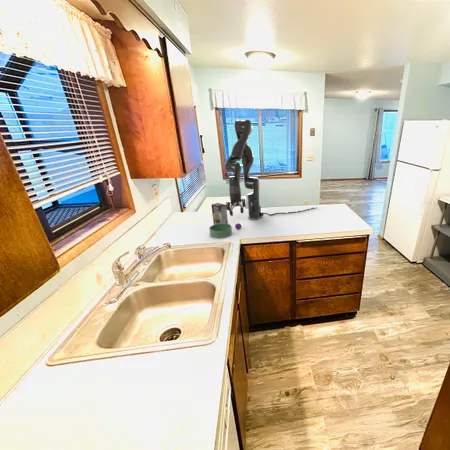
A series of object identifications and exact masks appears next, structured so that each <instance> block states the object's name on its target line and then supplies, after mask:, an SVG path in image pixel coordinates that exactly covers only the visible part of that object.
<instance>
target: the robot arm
mask: <svg viewBox="0 0 450 450" xmlns="http://www.w3.org/2000/svg"><path fill="white" fill-rule="evenodd" d="M252 130H253V123H252V120H250V119H244V118H243V119H242V118H241V119H235V121H234V131H235V134H236V139H237V141H236V142H235V143H234V144H233V146H232V149H231V153H230V156H229V157H228V159H227V160H226V162H225V164H224V169H225V172H227V173H228V174H233V175H232V176H229V177H228V191H229V200H230V201H226V202H225V205H226V208H227V211H229V215H230V216H231V217H233V216H234V212H233V210H234V209H235V208H237V207H240V208H239V209H240V214H244V212H245V211H244V208H246V206H247V209H248V211H247V214H248V219H249V220H260V219H261V218H262V217H264V215H267V216H275V215H280V214H281V215H282V214H283V215H284V214H285V215H286V213H285V212H274V213H271V214H270V213H268V212H264V211H262V209H261V208H262V207H261V205H260V179H259V178H258V177H251V176H250V171H251V169H252V167H253V165H254V161H255V158H254V152H253V150H252V148H251V146H250V145H249V144H248V140H249V138H250V136H251V134H252ZM240 161H241V163H240ZM242 172H243V184H244V187H245V189H246V190H253V191H252V192H249V193H247V197H246V198H247V205H246V199H245V198H242V189H241V181H240V179H241V173H242ZM313 209H315V208H314V207H311V209H310V208H307V209H302V210H303V211H302V210H298V211H297V210H296V211H297V212H296V211H287V212H288V213H287V214H295V213H303V212H306V211H310V210H313Z"/></svg>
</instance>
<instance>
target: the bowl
mask: <svg viewBox="0 0 450 450" xmlns="http://www.w3.org/2000/svg"><path fill="white" fill-rule="evenodd" d="M208 229H209V230H208V231H209V236H210V237H211V238H214V239H224V238H227V237H230V236H231V235H232V234H233V229H232V225H231V224H229V223H228V224H215V225H214V224H213V225H210V226H209V228H208Z"/></svg>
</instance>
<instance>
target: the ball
mask: <svg viewBox="0 0 450 450" xmlns="http://www.w3.org/2000/svg"><path fill="white" fill-rule="evenodd" d="M234 228H235V229H236V230H240V229H242V224H241V223H238V222H237V223H236V224H235V225H234Z"/></svg>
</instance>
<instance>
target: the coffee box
mask: <svg viewBox="0 0 450 450" xmlns="http://www.w3.org/2000/svg"><path fill="white" fill-rule="evenodd" d="M211 212H212V213H211V214H212V221H213V222H212V223H213V225H215V224H229V220H228V210H227V208H226V203H220V202H216V203H212V204H211Z"/></svg>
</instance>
